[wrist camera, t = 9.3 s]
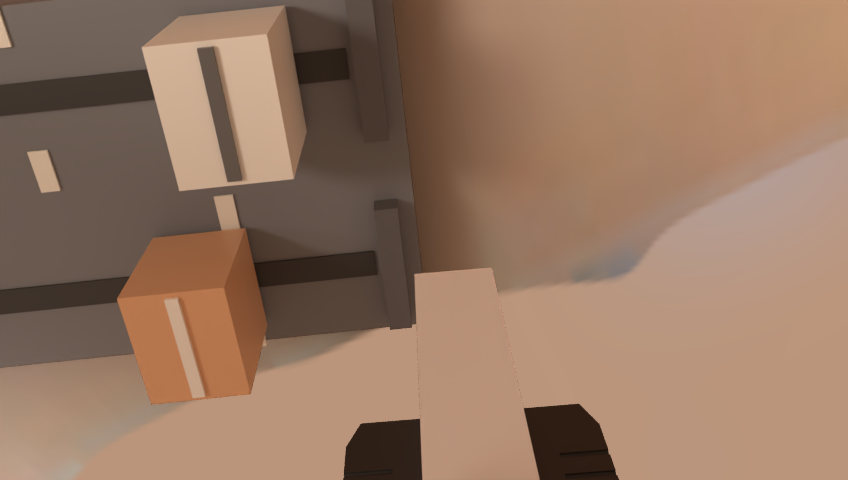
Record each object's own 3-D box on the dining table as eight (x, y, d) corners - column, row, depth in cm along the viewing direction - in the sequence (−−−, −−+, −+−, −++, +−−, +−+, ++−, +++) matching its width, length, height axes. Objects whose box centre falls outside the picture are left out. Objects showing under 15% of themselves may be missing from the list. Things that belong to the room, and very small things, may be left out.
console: (-57, 356, 38) (-91, 395, 35) (-218, 14, 30) (-277, 30, 27) (425, 305, 38) (429, 340, 35) (386, -51, 30) (386, -40, 27)
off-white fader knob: (208, 141, 31) (178, 192, 26) (179, 16, 29) (140, 48, 24) (306, 131, 31) (293, 180, 26) (284, 5, 29) (266, 35, 24)
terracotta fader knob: (181, 334, 35) (150, 407, 31) (152, 237, 33) (115, 301, 28) (267, 324, 35) (249, 396, 31) (245, 228, 33) (222, 289, 28)
